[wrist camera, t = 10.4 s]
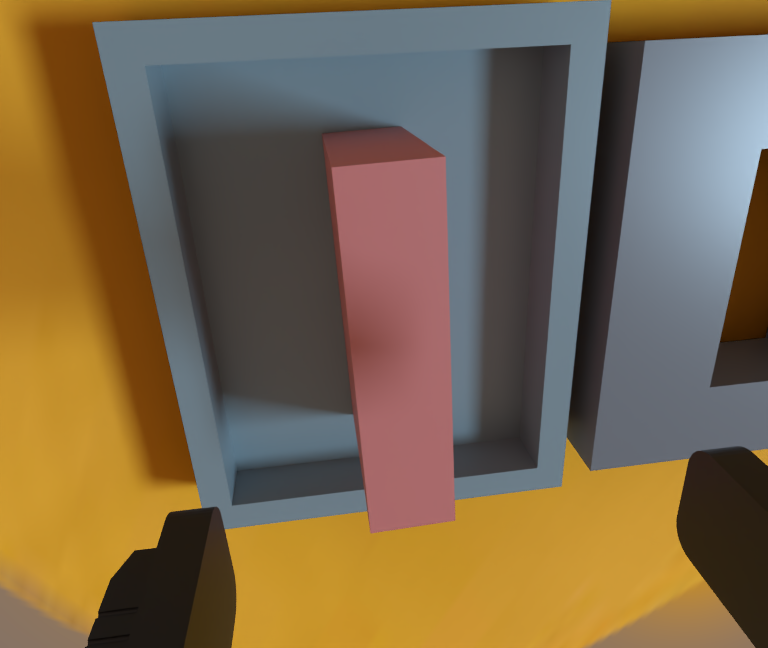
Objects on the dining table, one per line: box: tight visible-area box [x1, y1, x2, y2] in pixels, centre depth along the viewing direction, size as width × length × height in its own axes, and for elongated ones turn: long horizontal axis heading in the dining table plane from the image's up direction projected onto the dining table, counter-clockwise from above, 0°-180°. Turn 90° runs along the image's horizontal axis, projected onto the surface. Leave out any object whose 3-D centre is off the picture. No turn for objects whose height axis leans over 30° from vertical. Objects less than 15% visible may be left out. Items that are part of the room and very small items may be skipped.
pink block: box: [322, 126, 455, 533], centre depth 17 cm, size 2×6×10 cm
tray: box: [92, 0, 611, 529], centre depth 19 cm, size 13×16×2 cm
